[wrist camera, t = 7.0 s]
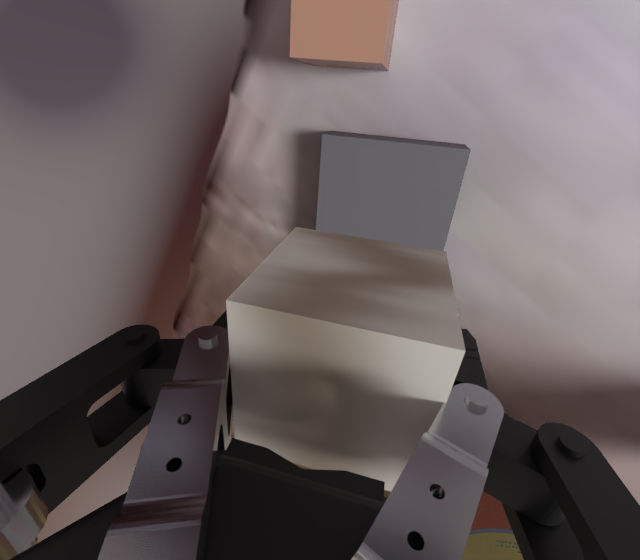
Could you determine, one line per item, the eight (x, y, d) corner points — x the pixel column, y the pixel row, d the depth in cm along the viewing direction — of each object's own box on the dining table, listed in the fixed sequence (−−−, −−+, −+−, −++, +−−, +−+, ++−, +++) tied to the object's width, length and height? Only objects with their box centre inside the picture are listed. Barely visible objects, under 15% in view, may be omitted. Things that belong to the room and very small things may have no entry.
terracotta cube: (403, -32, 21) (400, -70, 17) (388, 70, 24) (382, 63, 19) (318, -34, 22) (292, -70, 17) (313, 65, 25) (289, 57, 20)
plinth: (464, 144, 25) (470, 149, 22) (432, 267, 30) (434, 282, 27) (331, 130, 26) (322, 134, 24) (321, 248, 31) (313, 261, 29)
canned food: (432, 457, 40) (437, 579, 30) (540, 454, 36) (589, 594, 26) (453, 516, 44) (465, 641, 34) (553, 519, 40) (600, 663, 30)
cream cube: (445, 251, 12) (465, 350, 7) (412, 368, 15) (411, 498, 10) (295, 226, 13) (225, 299, 8) (290, 340, 15) (235, 446, 11)
